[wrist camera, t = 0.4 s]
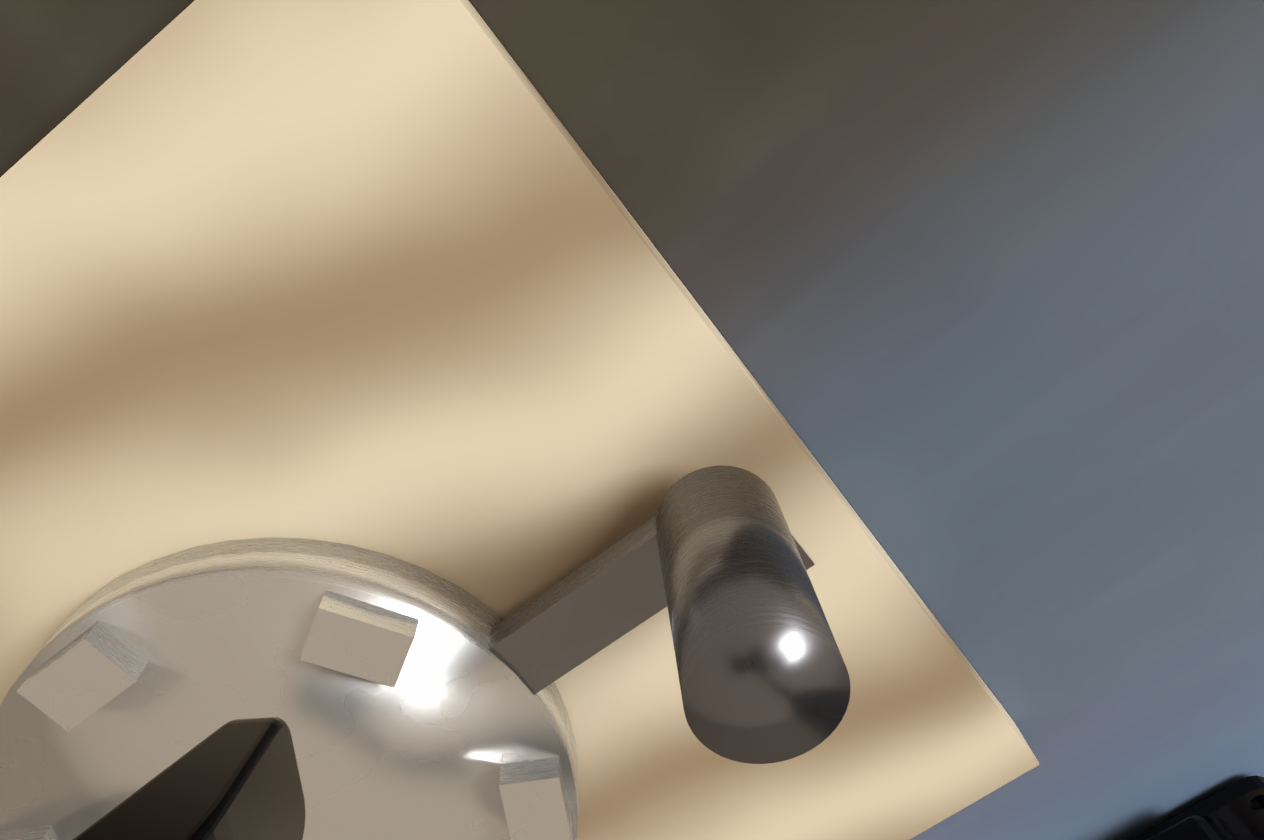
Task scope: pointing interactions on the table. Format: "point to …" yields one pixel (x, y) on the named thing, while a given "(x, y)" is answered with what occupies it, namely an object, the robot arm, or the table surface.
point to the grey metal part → (418, 673)
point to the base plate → (423, 391)
